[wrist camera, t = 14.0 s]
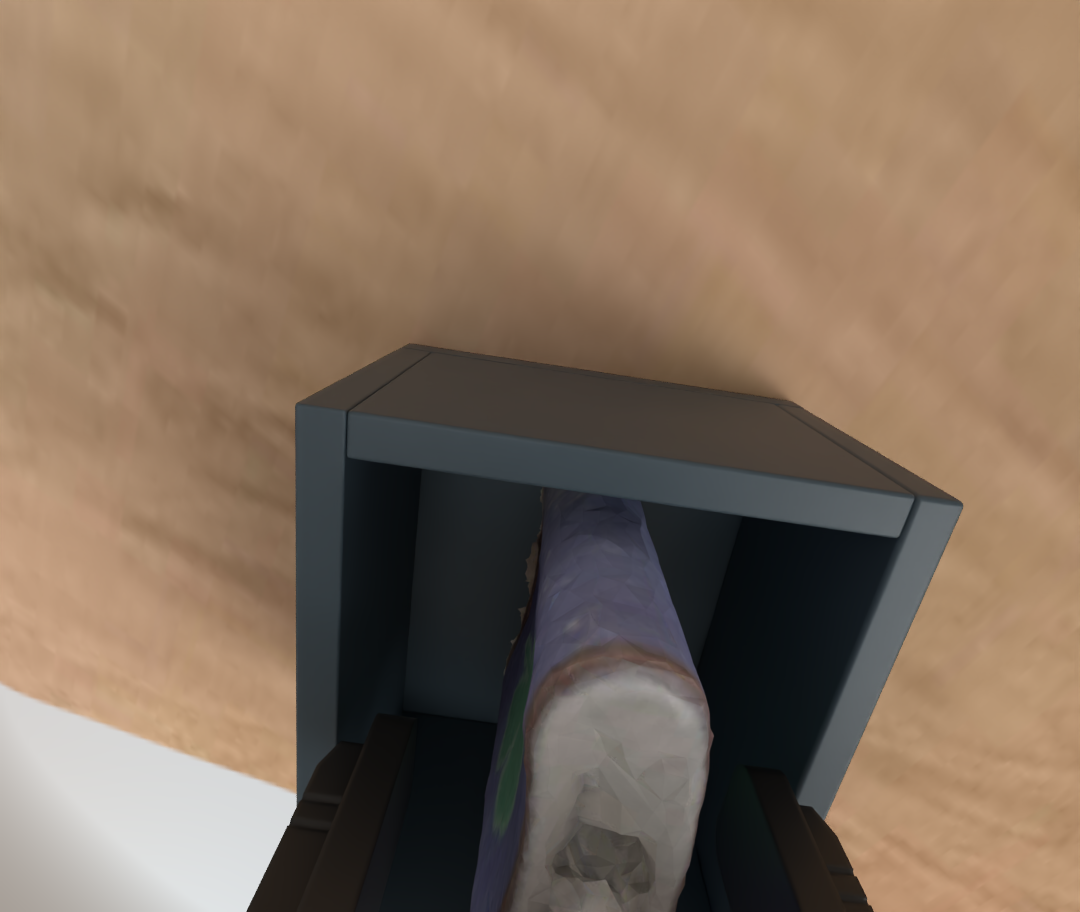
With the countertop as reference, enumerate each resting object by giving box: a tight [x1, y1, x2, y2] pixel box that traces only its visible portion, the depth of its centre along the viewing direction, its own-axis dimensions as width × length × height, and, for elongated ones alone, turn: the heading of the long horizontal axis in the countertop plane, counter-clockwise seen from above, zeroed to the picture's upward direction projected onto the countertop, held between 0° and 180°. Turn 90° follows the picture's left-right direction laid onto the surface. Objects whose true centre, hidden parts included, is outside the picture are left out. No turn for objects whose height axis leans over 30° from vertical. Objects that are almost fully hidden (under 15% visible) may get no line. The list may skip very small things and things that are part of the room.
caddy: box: [295, 344, 963, 912], centre depth 14 cm, size 11×13×7 cm
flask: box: [470, 487, 714, 912], centre depth 11 cm, size 9×3×11 cm, turn 169°
